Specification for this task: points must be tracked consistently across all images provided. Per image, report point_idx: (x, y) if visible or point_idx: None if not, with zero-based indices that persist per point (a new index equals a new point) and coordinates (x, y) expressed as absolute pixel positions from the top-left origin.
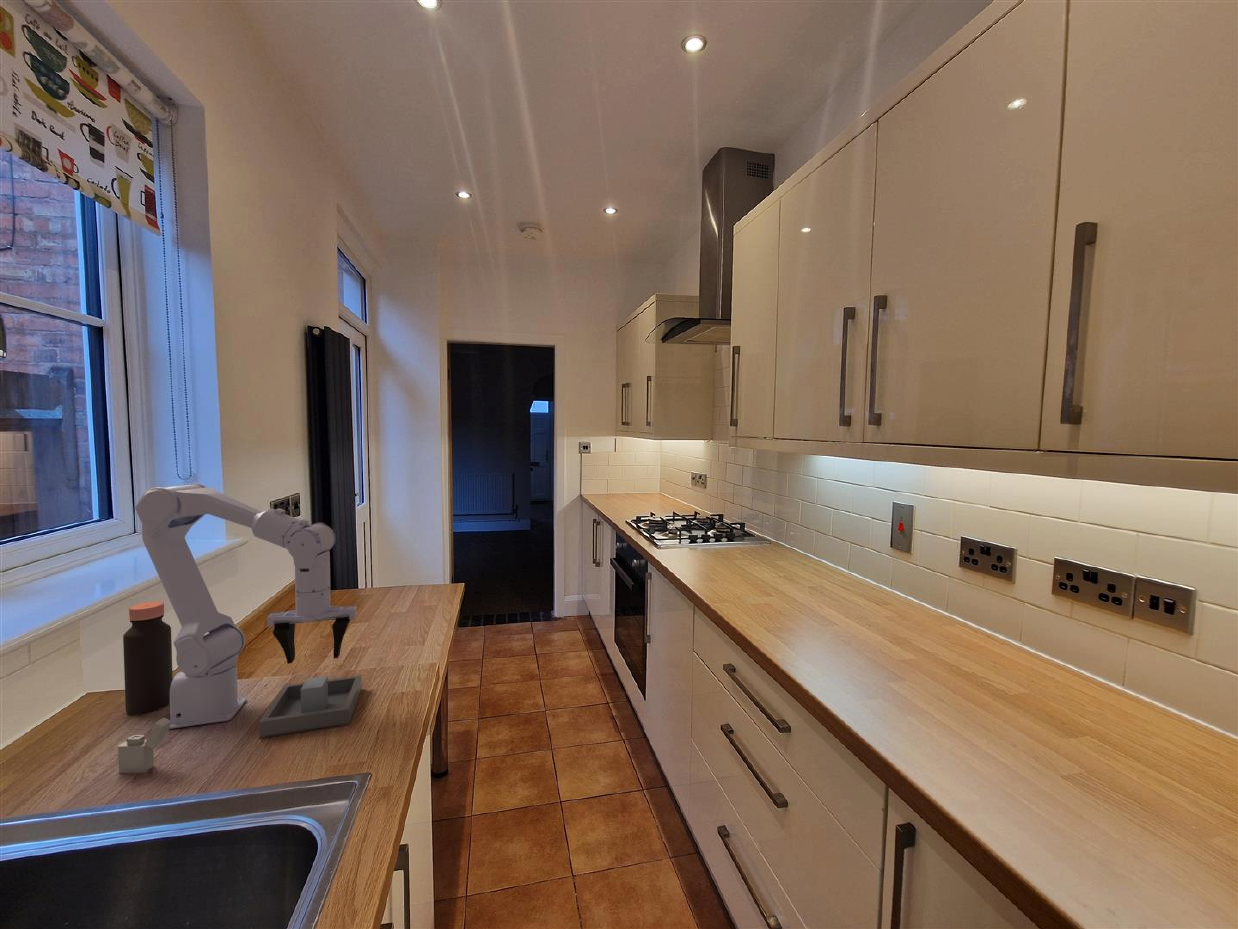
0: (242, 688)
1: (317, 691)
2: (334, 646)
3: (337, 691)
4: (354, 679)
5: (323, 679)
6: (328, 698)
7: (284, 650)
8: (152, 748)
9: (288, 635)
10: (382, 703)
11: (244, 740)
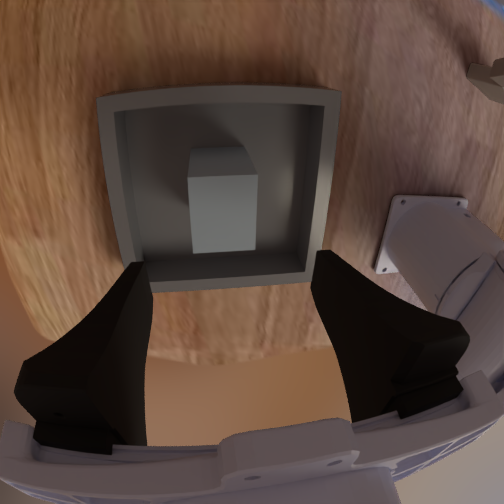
0: None
1: (202, 171)
2: (126, 293)
3: (187, 261)
4: None
5: (199, 232)
6: None
7: (367, 280)
8: (495, 60)
9: (385, 338)
10: (61, 190)
11: (353, 95)
